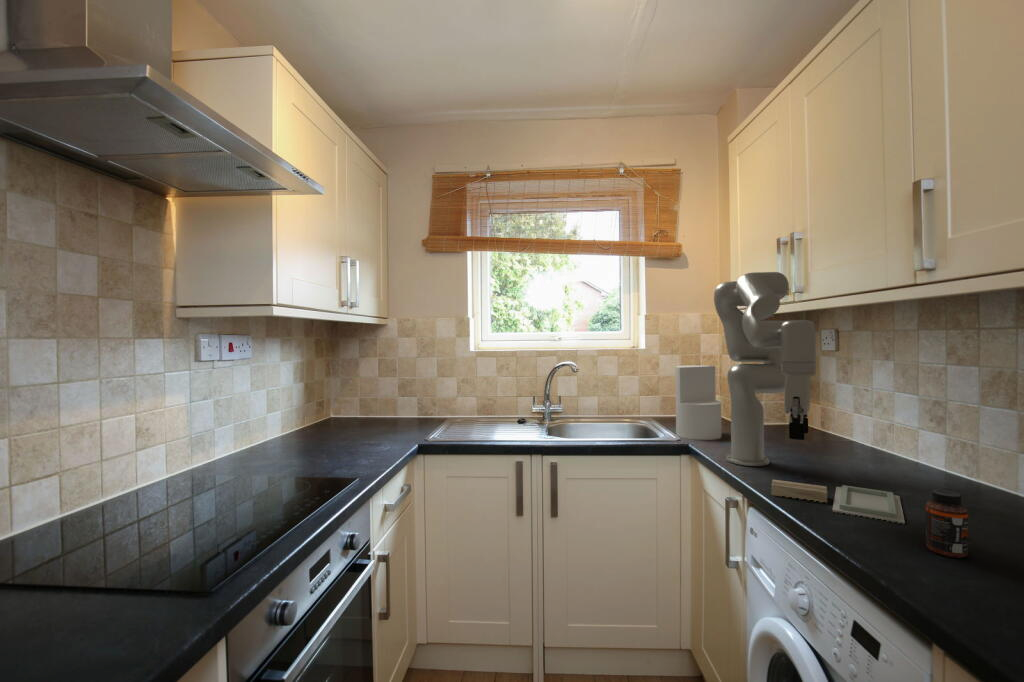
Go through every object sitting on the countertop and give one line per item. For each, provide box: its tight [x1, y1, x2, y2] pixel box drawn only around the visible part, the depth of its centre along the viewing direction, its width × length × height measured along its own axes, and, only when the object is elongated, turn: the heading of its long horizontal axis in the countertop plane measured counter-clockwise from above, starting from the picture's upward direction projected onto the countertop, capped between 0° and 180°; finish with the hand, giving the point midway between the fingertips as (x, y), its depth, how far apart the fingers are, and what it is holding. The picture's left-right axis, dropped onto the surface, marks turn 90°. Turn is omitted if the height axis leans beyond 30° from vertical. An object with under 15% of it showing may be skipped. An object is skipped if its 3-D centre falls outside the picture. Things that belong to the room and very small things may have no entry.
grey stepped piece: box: [675, 364, 722, 441], centre depth 194 cm, size 17×17×28 cm
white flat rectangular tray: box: [832, 484, 906, 525], centre depth 115 cm, size 20×13×2 cm, turn 143°
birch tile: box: [770, 479, 828, 504], centre depth 121 cm, size 5×12×3 cm, turn 58°
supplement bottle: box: [925, 489, 969, 559], centre depth 90 cm, size 6×6×11 cm
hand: (799, 435), depth 121 cm, fingers open, 9 cm apart
